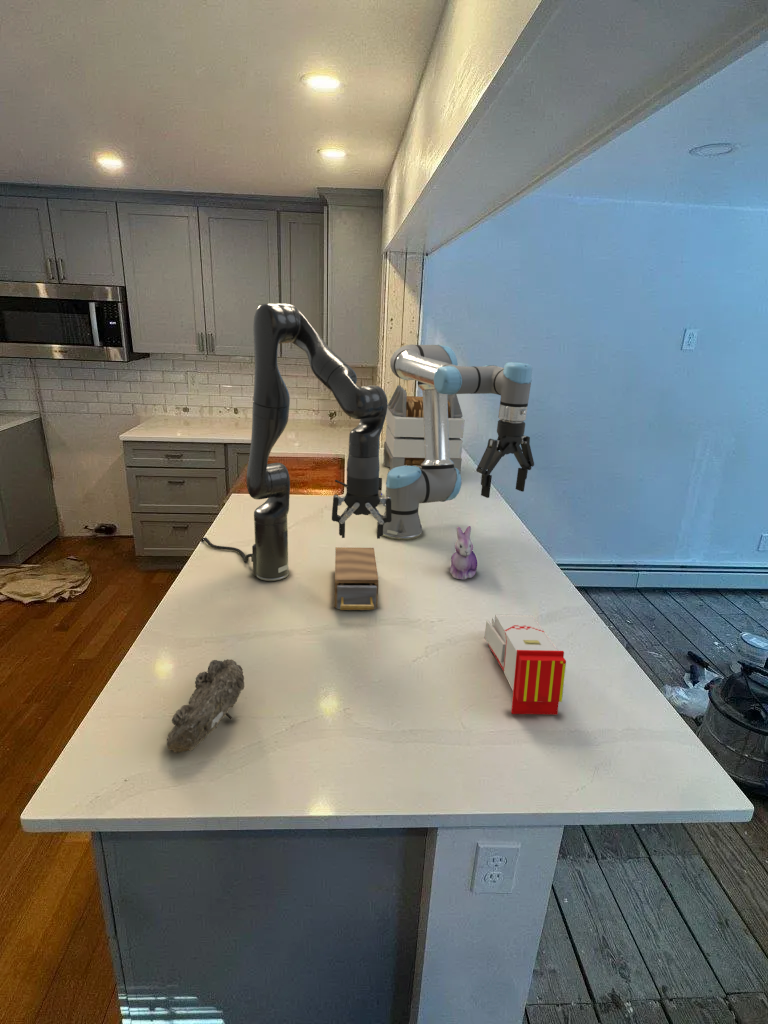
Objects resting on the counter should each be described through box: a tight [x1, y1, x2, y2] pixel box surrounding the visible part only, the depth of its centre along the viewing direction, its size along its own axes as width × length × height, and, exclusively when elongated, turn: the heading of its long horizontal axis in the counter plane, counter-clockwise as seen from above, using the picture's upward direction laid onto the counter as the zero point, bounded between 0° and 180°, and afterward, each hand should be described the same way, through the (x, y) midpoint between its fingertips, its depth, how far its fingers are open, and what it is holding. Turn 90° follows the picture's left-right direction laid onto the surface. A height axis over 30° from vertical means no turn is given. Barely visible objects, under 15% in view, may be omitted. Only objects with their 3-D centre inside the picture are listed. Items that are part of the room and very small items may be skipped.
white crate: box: [383, 384, 465, 475], centre depth 268 cm, size 34×33×41 cm
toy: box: [484, 614, 567, 716], centre depth 124 cm, size 12×13×30 cm
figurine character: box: [378, 477, 383, 497], centre depth 234 cm, size 7×8×15 cm
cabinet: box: [334, 546, 379, 609], centre depth 158 cm, size 21×11×8 cm, turn 4°
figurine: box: [449, 525, 479, 580], centre depth 169 cm, size 9×10×15 cm
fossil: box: [166, 658, 245, 754], centre depth 106 cm, size 22×10×15 cm
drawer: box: [336, 583, 377, 611], centre depth 153 cm, size 25×10×6 cm, turn 4°
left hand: (360, 537), depth 138 cm, fingers open, 8 cm apart
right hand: (502, 493), depth 164 cm, fingers open, 13 cm apart
